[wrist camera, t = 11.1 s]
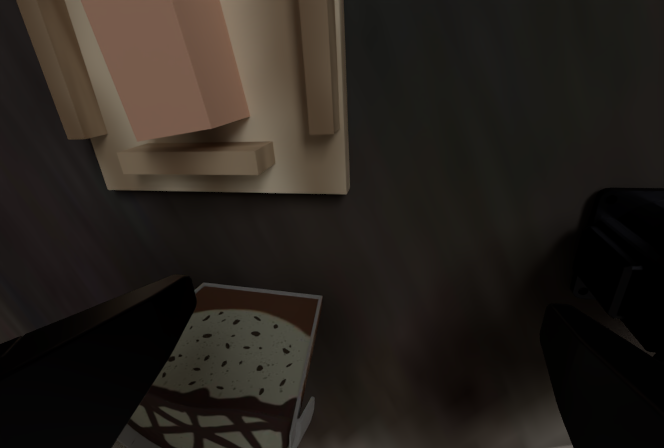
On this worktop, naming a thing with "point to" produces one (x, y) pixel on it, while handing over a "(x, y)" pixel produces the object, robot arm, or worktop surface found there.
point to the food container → (233, 374)
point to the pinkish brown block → (169, 64)
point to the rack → (227, 140)
